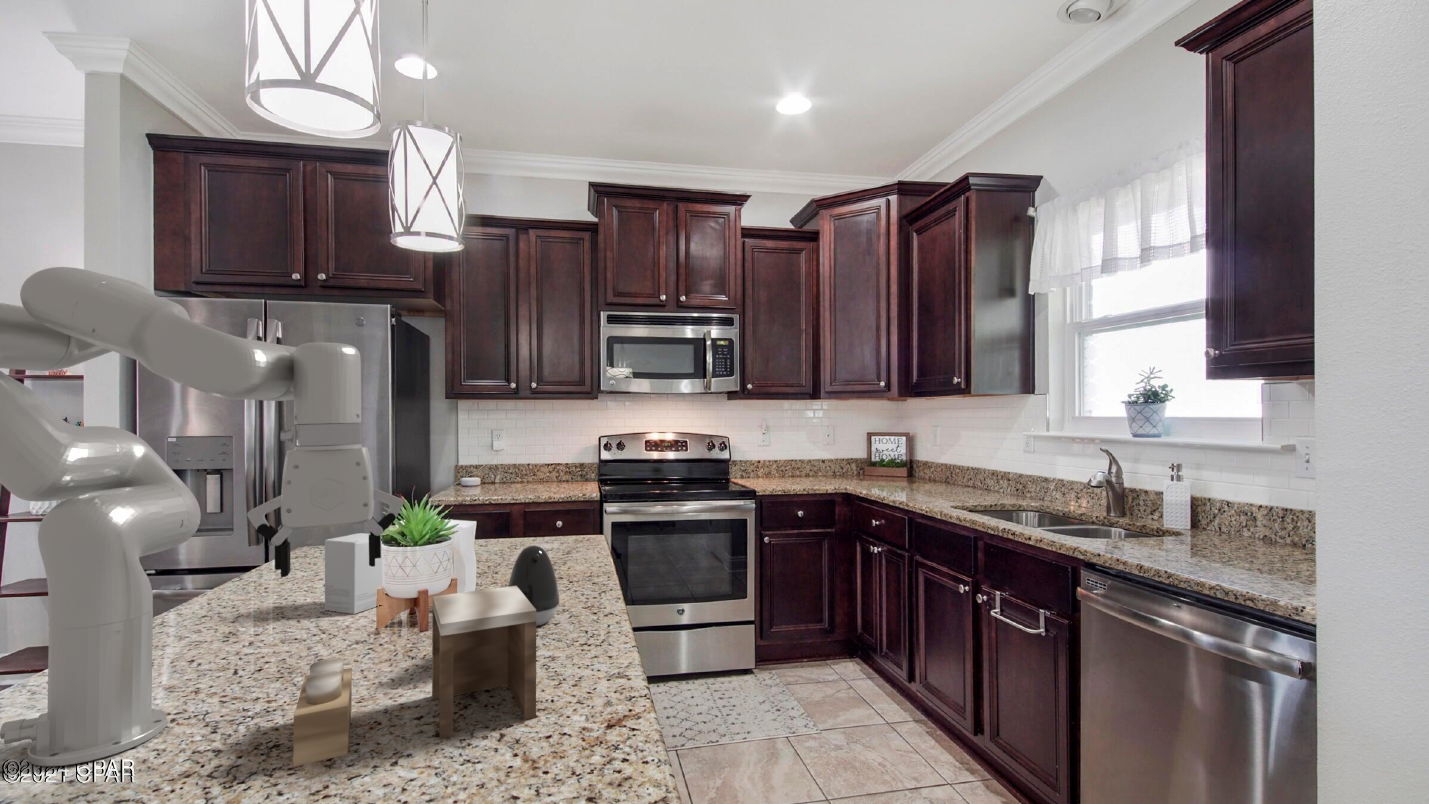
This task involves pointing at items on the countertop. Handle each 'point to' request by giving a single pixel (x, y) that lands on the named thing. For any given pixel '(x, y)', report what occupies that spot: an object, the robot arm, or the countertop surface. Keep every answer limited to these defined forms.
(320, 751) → the tan toy brick
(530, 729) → the countertop surface
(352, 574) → the supplement box
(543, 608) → the dark grey egg dome
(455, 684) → the wooden mini stool
